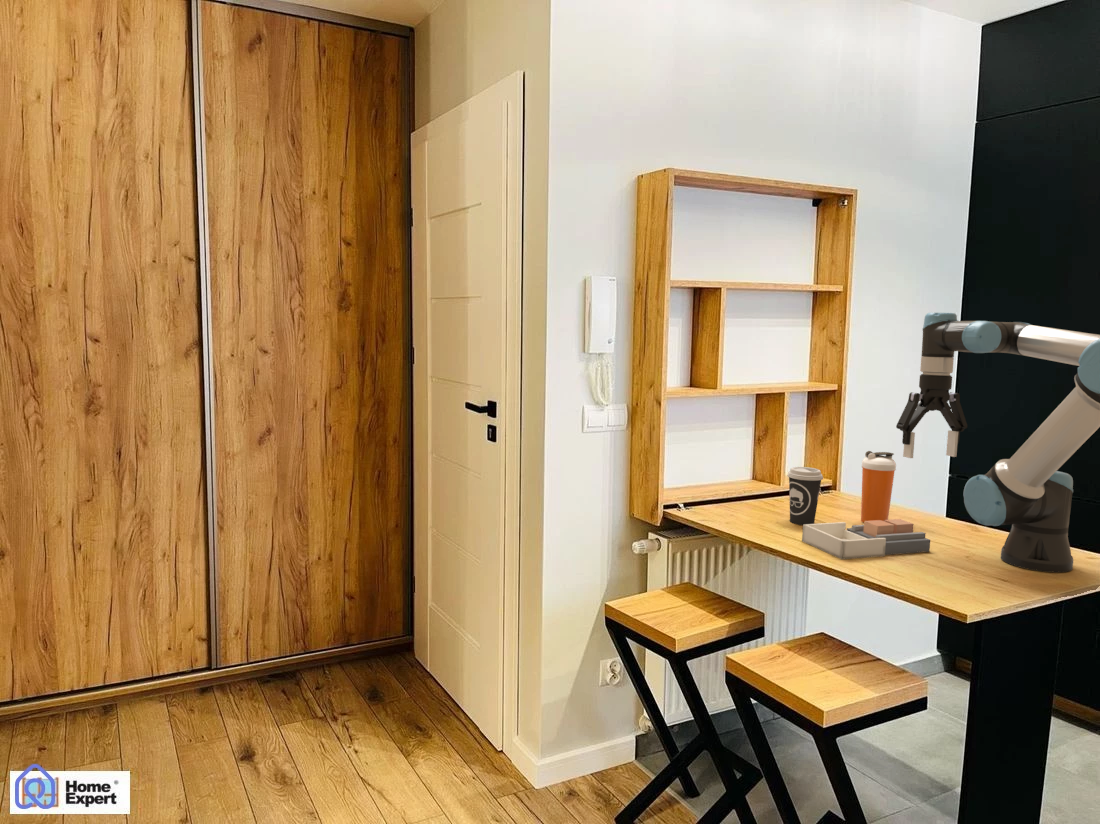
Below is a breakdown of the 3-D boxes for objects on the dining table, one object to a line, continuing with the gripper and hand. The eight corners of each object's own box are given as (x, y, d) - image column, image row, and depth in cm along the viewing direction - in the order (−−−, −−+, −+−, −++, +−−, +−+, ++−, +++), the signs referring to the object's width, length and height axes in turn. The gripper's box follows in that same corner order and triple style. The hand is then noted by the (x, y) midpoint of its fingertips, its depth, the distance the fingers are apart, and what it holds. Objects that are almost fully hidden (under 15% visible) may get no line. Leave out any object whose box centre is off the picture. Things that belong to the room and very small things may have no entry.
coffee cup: (821, 528, 232) (825, 474, 230) (785, 525, 234) (789, 471, 232) (817, 519, 241) (821, 467, 239) (783, 517, 243) (786, 465, 241)
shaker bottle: (896, 526, 236) (902, 455, 233) (863, 525, 236) (869, 454, 233) (884, 518, 245) (889, 450, 242) (852, 517, 245) (858, 449, 242)
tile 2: (912, 535, 215) (913, 523, 215) (896, 536, 214) (897, 524, 213) (898, 530, 220) (899, 518, 220) (882, 531, 218) (883, 519, 218)
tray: (884, 556, 207) (886, 538, 206) (841, 559, 203) (842, 541, 202) (842, 538, 222) (844, 522, 221) (801, 541, 218) (803, 524, 217)
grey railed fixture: (929, 551, 212) (930, 535, 211) (882, 554, 208) (884, 538, 207) (890, 536, 225) (891, 521, 225) (846, 539, 221) (847, 523, 220)
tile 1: (893, 536, 213) (894, 525, 213) (876, 537, 212) (877, 526, 212) (879, 531, 218) (880, 520, 218) (863, 532, 217) (864, 521, 216)
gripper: (964, 373, 223) (957, 453, 225) (885, 372, 215) (879, 455, 217) (986, 375, 216) (980, 457, 218) (906, 374, 208) (899, 460, 210)
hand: (929, 456), depth 218 cm, fingers open, 13 cm apart
